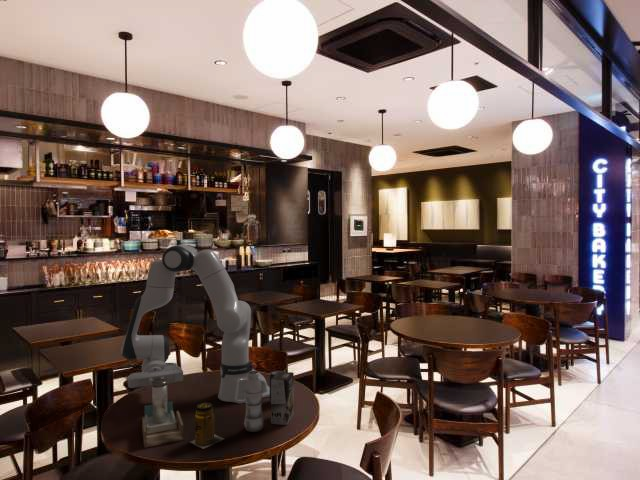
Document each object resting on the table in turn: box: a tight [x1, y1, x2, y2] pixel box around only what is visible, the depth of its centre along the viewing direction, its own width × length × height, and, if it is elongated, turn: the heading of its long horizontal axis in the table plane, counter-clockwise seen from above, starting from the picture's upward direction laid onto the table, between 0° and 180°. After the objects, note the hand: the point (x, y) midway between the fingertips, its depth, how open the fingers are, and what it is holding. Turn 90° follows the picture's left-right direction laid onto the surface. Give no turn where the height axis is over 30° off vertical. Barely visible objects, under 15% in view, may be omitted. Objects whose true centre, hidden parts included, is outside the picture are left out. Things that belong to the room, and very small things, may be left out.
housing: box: [141, 410, 185, 449], centre depth 146 cm, size 12×12×5 cm
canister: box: [151, 379, 168, 424], centre depth 153 cm, size 5×5×14 cm
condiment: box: [190, 402, 225, 450], centre depth 143 cm, size 7×8×12 cm
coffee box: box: [270, 371, 295, 426], centre depth 159 cm, size 9×6×16 cm
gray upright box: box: [269, 369, 286, 402], centre depth 175 cm, size 7×7×12 cm
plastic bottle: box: [243, 370, 264, 433], centre depth 150 cm, size 6×7×20 cm
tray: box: [144, 401, 177, 434], centre depth 154 cm, size 10×13×6 cm
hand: (157, 384), depth 163 cm, fingers closed
